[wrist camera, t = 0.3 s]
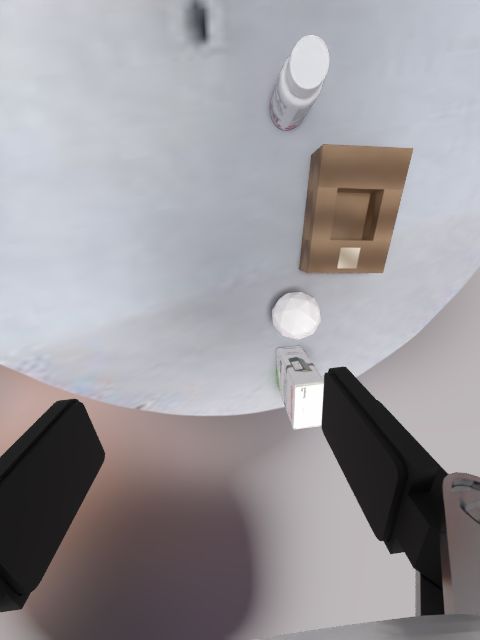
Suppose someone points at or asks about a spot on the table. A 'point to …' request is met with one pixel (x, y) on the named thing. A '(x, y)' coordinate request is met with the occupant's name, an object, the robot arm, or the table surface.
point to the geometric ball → (296, 315)
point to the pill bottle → (299, 82)
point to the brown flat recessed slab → (352, 207)
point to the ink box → (300, 387)
